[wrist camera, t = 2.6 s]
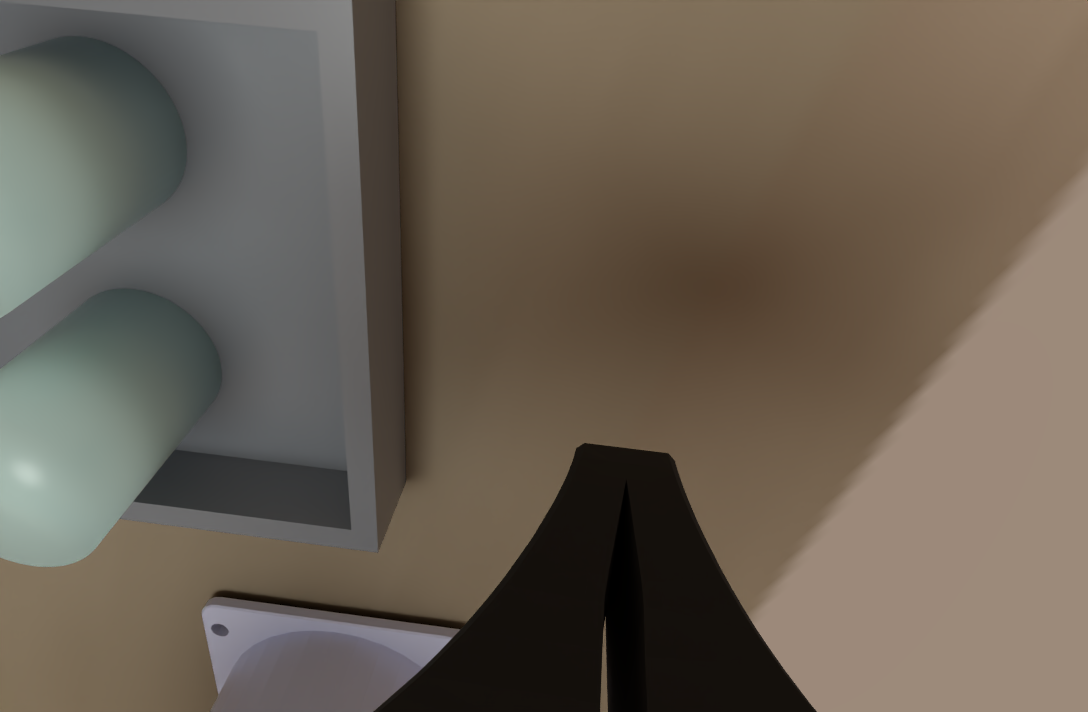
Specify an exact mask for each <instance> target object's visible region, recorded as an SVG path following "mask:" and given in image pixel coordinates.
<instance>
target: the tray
mask: <svg viewBox="0 0 1088 712" xmlns="http://www.w3.org/2000/svg"><path fill="white" fill-rule="evenodd" d="M65 36H81V37H87V38H93V39H96V40H100V41H103V42H106V43H108V44H110V45H113V46H115V47H117V48H119V49H121V50H122V51H124V52H126V53H128V54H129V55H130V56H132V57H133V58H135V59H136V60H137V61H139V62H140V63H141V64H142V65H143V66H144V67H146V68H147V69H148V70H149V71H150V72H151V73H152V74H153V75H154V76H155V78H156V79H157V80H158V81H159V82H160V83H161V85H162V86H163V87H164V89H165V90H166V91H167V93H168V95H169V96H170V98H171V100H172V101H173V103H174V105H175V107H176V109H177V111H178V113H179V116H180V119H181V121H182V124H183V128H184V132H185V137H186V145H187V161H186V166H185V171H184V174H183V177H182V180H181V182H180V184H179V186H178V187H177V189H176V190H175V192H174V193H173V194H172V195H171V197H169V198H168V199H167V200H166V201H165V202H164V203H162V204H161V205H160V206H158V207H157V208H155V209H154V210H153V211H151V212H150V213H148V214H147V215H146V216H144V217H143V218H141V219H140V220H138V221H137V222H136V223H134V224H133V225H131V226H130V227H129V228H127V229H126V230H124V231H123V232H122V233H120V234H119V235H117V236H116V237H115V238H113V239H112V240H110V241H109V242H108V243H106V244H105V245H103V246H102V247H101V248H99V249H98V250H96V251H95V252H94V253H92V254H91V255H89V256H88V257H87V258H85V259H84V260H82V261H81V262H79V263H78V264H77V265H75V266H74V267H72V268H71V269H70V270H68V271H67V272H65V273H64V274H63V275H61V276H60V277H58V278H57V279H56V280H54V281H53V282H51V283H50V284H49V285H47V286H46V287H44V288H43V289H42V290H40V291H39V292H37V293H36V294H35V295H33V296H32V297H30V298H29V299H28V300H26V301H25V302H23V303H22V304H20V305H19V306H18V307H16V308H15V309H13V310H12V311H11V312H9V313H8V314H6V315H4V316H3V317H1V318H0V369H1V368H2V367H3V366H5V365H6V364H7V363H8V362H10V361H11V360H12V359H13V358H15V357H16V356H17V355H18V354H20V353H21V352H22V351H24V350H25V349H26V348H27V347H29V346H30V345H31V344H32V343H34V342H35V341H36V340H37V339H39V338H40V337H41V336H43V335H44V334H45V333H46V332H48V331H49V330H50V329H51V328H53V327H54V326H55V325H57V324H58V323H59V322H60V321H62V320H63V319H64V318H65V317H67V316H68V315H69V314H70V313H72V312H73V311H74V310H76V309H77V308H78V307H79V306H81V305H82V304H83V303H84V302H86V301H87V300H88V299H89V298H91V297H93V296H94V295H96V294H98V293H101V292H104V291H107V290H112V289H122V288H124V289H136V290H142V291H146V292H149V293H153V294H156V295H158V296H160V297H163V298H165V299H167V300H169V301H171V302H173V303H174V304H176V305H177V306H179V307H180V308H182V309H183V310H185V311H186V312H187V313H188V314H190V315H191V316H192V317H193V318H194V319H195V320H196V321H197V322H198V323H199V324H200V325H201V326H202V328H203V329H204V330H205V331H206V332H207V334H208V335H209V337H210V338H211V340H212V342H213V344H214V346H215V348H216V350H217V353H218V355H219V358H220V363H221V369H222V381H221V386H220V390H219V392H218V394H217V397H216V398H215V400H214V401H213V402H212V404H211V405H210V406H209V408H208V409H207V410H206V411H205V413H204V414H203V415H202V416H201V417H200V419H199V420H198V421H197V422H196V424H195V425H194V426H193V427H192V429H191V430H190V431H189V432H188V434H187V435H186V436H185V437H184V439H183V440H182V441H181V442H180V444H179V445H178V446H177V447H176V449H175V450H174V451H173V452H172V454H171V455H170V456H169V457H168V459H167V460H166V461H165V462H164V464H163V465H162V466H161V467H160V469H159V470H158V471H157V472H156V474H155V475H154V476H153V477H152V479H151V480H150V481H149V482H148V484H147V485H146V486H145V487H144V489H143V490H142V491H141V492H140V494H139V495H138V496H137V497H136V499H135V500H134V501H133V502H132V504H131V505H130V506H129V507H128V509H127V510H126V511H125V512H124V514H123V515H122V516H121V517H120V519H125V520H132V521H140V522H148V523H155V524H163V525H171V526H178V527H186V528H194V529H201V530H209V531H216V532H224V533H232V534H239V535H247V536H255V537H262V538H270V539H278V540H285V541H293V542H301V543H308V544H316V545H323V546H331V547H339V548H346V549H354V550H362V551H369V552H377V553H378V552H379V549H380V546H381V544H382V541H383V539H384V536H385V534H386V531H387V529H388V526H389V524H390V521H391V518H392V516H393V513H394V511H395V508H396V506H397V503H398V501H399V498H400V495H401V493H402V490H403V488H404V485H405V483H406V452H405V408H404V363H403V319H402V274H401V230H400V185H399V141H398V96H397V52H396V7H395V0H0V55H2V54H5V53H9V52H12V51H15V50H18V49H22V48H25V47H28V46H32V45H35V44H38V43H41V42H45V41H48V40H51V39H54V38H58V37H65Z"/></svg>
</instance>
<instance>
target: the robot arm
mask: <svg viewBox="0 0 1088 712" xmlns="http://www.w3.org/2000/svg"><path fill="white" fill-rule="evenodd" d="M605 616H606V654H607V692H608V712H816V710H815V709H814V708H813V707H812V706H811V704H810V703H809V702H808V700H807V699H806V698H805V696H804V695H803V694H802V693H801V691H800V690H799V689H798V687H797V686H796V685H795V683H794V682H793V681H792V679H791V678H790V677H789V675H788V674H787V673H786V672H785V670H784V669H783V667H782V666H781V664H780V663H779V662H778V660H777V659H776V657H775V656H774V655H773V653H772V652H771V650H770V649H769V647H768V646H767V644H766V643H765V641H764V640H763V638H762V637H761V635H760V634H759V632H758V631H757V630H756V628H755V626H754V625H753V623H752V621H751V620H750V618H749V617H748V615H747V613H746V612H745V610H744V608H743V607H742V605H741V603H740V602H739V600H738V598H737V597H736V595H735V593H734V592H733V590H732V588H731V586H730V585H729V583H728V581H727V579H726V577H725V576H724V574H723V572H722V570H721V568H720V566H719V564H718V562H717V560H716V558H715V556H714V554H713V552H712V550H711V549H710V547H709V545H708V543H707V541H706V539H705V537H704V535H703V532H702V530H701V528H700V526H699V524H698V522H697V519H696V517H695V515H694V512H693V510H692V508H691V505H690V503H689V501H688V498H687V496H686V493H685V491H684V488H683V485H682V483H681V480H680V477H679V474H678V471H677V467H676V464H675V461H674V459H673V458H672V457H671V456H670V455H669V453H661V452H652V451H644V450H636V449H628V448H620V447H612V446H603V445H595V444H587V443H584V444H582V445H581V446H579V447H578V448H576V451H575V455H574V459H573V462H572V464H571V467H570V470H569V472H568V474H567V477H566V479H565V481H564V483H563V485H562V487H561V489H560V491H559V493H558V495H557V497H556V499H555V501H554V503H553V504H552V506H551V508H550V509H549V511H548V513H547V514H546V516H545V518H544V519H543V521H542V523H541V524H540V526H539V528H538V530H537V531H536V533H535V534H534V536H533V537H532V539H531V541H530V542H529V543H528V545H527V546H526V548H525V549H524V550H523V552H522V553H521V555H520V556H519V558H518V559H517V560H516V562H515V563H514V565H513V566H512V567H511V569H510V570H509V572H508V573H507V575H506V576H505V577H504V578H503V580H502V581H501V582H500V584H499V585H498V586H497V587H496V589H495V590H494V591H493V592H492V594H491V595H490V596H489V597H488V599H487V600H486V601H485V602H484V603H483V605H482V606H481V607H480V608H479V609H478V610H477V612H476V613H475V614H474V615H473V616H472V617H471V618H470V620H469V621H468V622H467V623H466V624H465V625H464V626H463V627H462V628H461V629H454V628H446V627H439V626H432V625H424V624H417V623H409V622H402V621H395V620H387V619H380V618H373V617H365V616H358V615H351V614H343V613H336V612H328V611H321V610H314V609H306V608H299V607H292V606H284V605H277V604H269V603H262V602H255V601H247V600H240V599H233V598H225V597H214V598H211V599H209V600H208V602H207V603H206V605H205V606H204V608H203V610H202V619H203V623H204V628H205V633H206V638H207V643H208V647H209V652H210V657H211V662H212V667H213V672H214V676H215V681H216V686H217V691H218V697H217V699H216V701H215V703H214V705H213V706H212V708H211V710H210V712H600V696H601V669H602V644H603V627H604V621H605Z"/></svg>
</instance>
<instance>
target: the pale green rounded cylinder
mask: <svg viewBox="0 0 1088 712" xmlns="http://www.w3.org/2000/svg"><path fill="white" fill-rule="evenodd" d="M221 381H222V369H221V363H220V358H219V355H218V353H217V350H216V348H215V346H214V344H213V342H212V340H211V338H210V337H209V335H208V334H207V332H206V331H205V330H204V329H203V328H202V326H201V325H200V324H199V323H198V322H197V321H196V320H195V319H194V318H193V317H192V316H191V315H190V314H188V313H187V312H186V311H185V310H183V309H182V308H180V307H179V306H177V305H176V304H174V303H173V302H171V301H169V300H167V299H165V298H163V297H160V296H158V295H156V294H153V293H149V292H146V291H142V290H136V289H124V288H122V289H112V290H107V291H104V292H101V293H98V294H96V295H94V296H93V297H91V298H89V299H88V300H87V301H86V302H84V303H83V304H82V305H81V306H79V307H78V308H77V309H76V310H74V311H73V312H72V313H70V314H69V315H68V316H67V317H65V318H64V319H63V320H62V321H60V322H59V323H58V324H57V325H55V326H54V327H53V328H51V329H50V330H49V331H48V332H46V333H45V334H44V335H43V336H41V337H40V338H39V339H37V340H36V341H35V342H34V343H32V344H31V345H30V346H29V347H27V348H26V349H25V350H24V351H22V352H21V353H20V354H18V355H17V356H16V357H15V358H13V359H12V360H11V361H10V362H8V363H7V364H6V365H5V366H3V367H2V368H1V369H0V558H3V559H6V560H9V561H12V562H16V563H20V564H25V565H30V566H39V567H57V566H64V565H68V564H72V563H75V562H77V561H80V560H82V559H83V558H85V557H87V556H88V555H89V554H90V553H91V552H92V551H94V550H95V548H96V547H97V546H98V545H99V543H100V542H101V541H102V540H103V538H104V537H105V536H106V535H107V533H108V532H109V531H110V530H111V528H112V527H113V526H114V525H115V523H116V522H117V521H118V520H119V519H120V517H121V516H122V515H123V514H124V512H125V511H126V510H127V509H128V507H129V506H130V505H131V504H132V502H133V501H134V500H135V499H136V497H137V496H138V495H139V494H140V492H141V491H142V490H143V489H144V487H145V486H146V485H147V484H148V482H149V481H150V480H151V479H152V477H153V476H154V475H155V474H156V472H157V471H158V470H159V469H160V467H161V466H162V465H163V464H164V462H165V461H166V460H167V459H168V457H169V456H170V455H171V454H172V452H173V451H174V450H175V449H176V447H177V446H178V445H179V444H180V442H181V441H182V440H183V439H184V437H185V436H186V435H187V434H188V432H189V431H190V430H191V429H192V427H193V426H194V425H195V424H196V422H197V421H198V420H199V419H200V417H201V416H202V415H203V414H204V413H205V411H206V410H207V409H208V408H209V406H210V405H211V404H212V402H213V401H214V400H215V398H216V397H217V394H218V392H219V390H220V386H221Z"/></svg>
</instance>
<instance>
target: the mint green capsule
mask: <svg viewBox="0 0 1088 712" xmlns="http://www.w3.org/2000/svg"><path fill="white" fill-rule="evenodd" d="M186 161H187V145H186V137H185V132H184V128H183V124H182V121H181V119H180V116H179V113H178V111H177V109H176V107H175V105H174V103H173V101H172V100H171V98H170V96H169V95H168V93H167V91H166V90H165V89H164V87H163V86H162V85H161V83H160V82H159V81H158V80H157V79H156V78H155V76H154V75H153V74H152V73H151V72H150V71H149V70H148V69H147V68H146V67H144V66H143V65H142V64H141V63H140V62H139V61H137V60H136V59H135V58H133V57H132V56H130V55H129V54H128V53H126V52H124V51H122V50H121V49H119V48H117V47H115V46H113V45H110V44H108V43H106V42H103V41H100V40H96V39H93V38H87V37H81V36H65V37H58V38H54V39H51V40H48V41H45V42H41V43H38V44H35V45H32V46H28V47H25V48H22V49H18V50H15V51H12V52H9V53H5V54H2V55H0V318H1V317H3V316H4V315H6V314H8V313H9V312H11V311H12V310H13V309H15V308H16V307H18V306H19V305H20V304H22V303H23V302H25V301H26V300H28V299H29V298H30V297H32V296H33V295H35V294H36V293H37V292H39V291H40V290H42V289H43V288H44V287H46V286H47V285H49V284H50V283H51V282H53V281H54V280H56V279H57V278H58V277H60V276H61V275H63V274H64V273H65V272H67V271H68V270H70V269H71V268H72V267H74V266H75V265H77V264H78V263H79V262H81V261H82V260H84V259H85V258H87V257H88V256H89V255H91V254H92V253H94V252H95V251H96V250H98V249H99V248H101V247H102V246H103V245H105V244H106V243H108V242H109V241H110V240H112V239H113V238H115V237H116V236H117V235H119V234H120V233H122V232H123V231H124V230H126V229H127V228H129V227H130V226H131V225H133V224H134V223H136V222H137V221H138V220H140V219H141V218H143V217H144V216H146V215H147V214H148V213H150V212H151V211H153V210H154V209H155V208H157V207H158V206H160V205H161V204H162V203H164V202H165V201H166V200H167V199H168V198H169V197H171V195H172V194H173V193H174V192H175V190H176V189H177V187H178V186H179V184H180V182H181V180H182V177H183V174H184V171H185V166H186Z"/></svg>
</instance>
